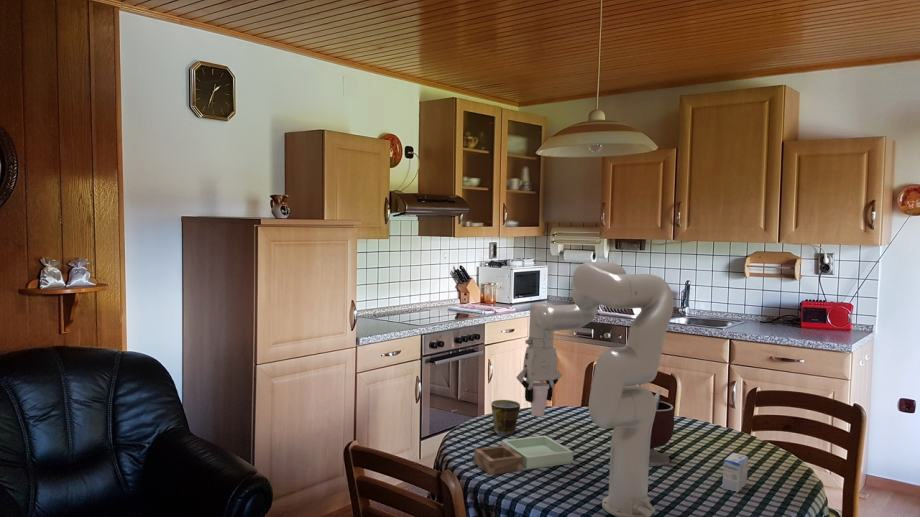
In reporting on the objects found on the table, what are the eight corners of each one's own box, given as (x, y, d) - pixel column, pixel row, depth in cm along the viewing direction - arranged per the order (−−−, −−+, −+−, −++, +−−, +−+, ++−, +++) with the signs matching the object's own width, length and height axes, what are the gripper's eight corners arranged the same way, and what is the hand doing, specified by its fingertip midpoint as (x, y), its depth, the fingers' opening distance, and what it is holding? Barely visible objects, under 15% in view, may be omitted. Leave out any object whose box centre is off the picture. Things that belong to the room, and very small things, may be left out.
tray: (572, 463, 196) (573, 451, 195) (526, 469, 189) (527, 457, 189) (544, 446, 210) (545, 435, 210) (501, 451, 204) (501, 440, 203)
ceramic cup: (496, 425, 230) (497, 398, 229) (523, 430, 226) (524, 402, 225) (482, 435, 218) (483, 406, 218) (509, 441, 214) (510, 411, 213)
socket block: (522, 470, 188) (522, 457, 188) (489, 475, 184) (490, 461, 184) (505, 458, 198) (505, 445, 198) (473, 462, 193) (474, 449, 193)
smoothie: (547, 418, 195) (549, 373, 195) (526, 416, 197) (528, 371, 196) (548, 412, 202) (550, 368, 201) (528, 411, 203) (530, 367, 202)
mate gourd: (665, 470, 192) (668, 404, 191) (620, 460, 200) (622, 396, 199) (678, 455, 205) (681, 393, 204) (635, 446, 213) (638, 386, 212)
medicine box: (730, 481, 185) (732, 452, 185) (746, 486, 182) (748, 456, 182) (721, 489, 179) (723, 459, 179) (738, 494, 176) (740, 463, 176)
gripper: (522, 346, 191) (519, 406, 192) (571, 343, 198) (568, 401, 199) (510, 341, 198) (508, 399, 199) (558, 339, 205) (555, 395, 206)
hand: (538, 400), depth 199 cm, fingers closed on smoothie, 6 cm apart
